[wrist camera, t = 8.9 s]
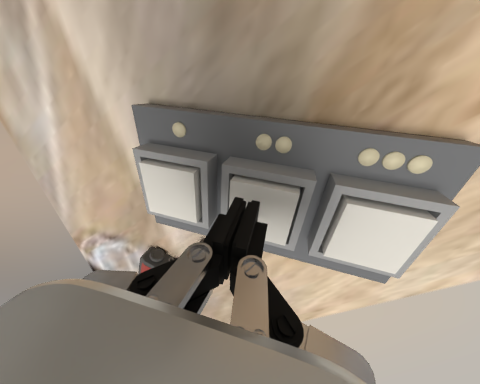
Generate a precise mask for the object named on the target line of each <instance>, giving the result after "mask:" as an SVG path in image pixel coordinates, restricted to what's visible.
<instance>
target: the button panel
mask: <svg viewBox="0 0 480 384" xmlns="http://www.w3.org/2000/svg"><path fill="white" fill-rule="evenodd" d="M132 109H133V114H134V119H135V124H136V128H137V133H138V138H139V143H140V146H138V147H135V148H132V149H133V153H134V157H135V161H136V166H137V170H138V174H139V178H140V183H141V187H142V191H143V196H144V200H145V204H146V208H147V213H149V214H152V215H155V219H156V222H157V223H161V224H165V225H168V226H172V227H176V228H180V229H183V230H187V231H191V232H194V233H198V234H202V235H206V236H207V234H208V232H209V231H210V229H211V227H212V225H213V224H214V222H215V220H216V218H217V217H218V215H219V214H225V215H226V214H227V212H228V210H229V197H230V180H231V179H232V178H233V176H234V175H235V174H237V175H242V176H247V177H253V178H258V179H263V180H269V181H274V182H279V183H285V184H290V185H295V186H300V195H299V199H298V202H297V206H296V209H295V213H294V216H293V220H292V223H291V227H290V230H289V234H288V238H287V241H286V245H285V246H283V245H280V244H276V243H272V242H268V241H265V242H264V248H263V251H265V252H269V253H273V254H276V255H280V256H284V257H288V258H291V259H295V260H299V261H302V262H306V263H310V264H314V265H317V266H321V267H325V268H329V269H332V270H336V271H340V272H343V273H347V274H351V275H355V276H358V277H362V278H366V279H369V280H373V281H377V282H381V283H384V284H385V283H386V282H387V281H388V279H389V278H390V277H395V278H400V277H401V276H402V275H403V273H404V272H405V271H406V270H407V269H408V267H409V266H410V265H411V264H412V263H413V262H414V260H415V259H416V258H417V257H418V256H419V254H420V253H421V252H422V251H423V250H424V249H425V247H426V246H427V245H428V244H429V243H430V242H431V240H432V239H433V238H434V237H435V236H436V234H437V233H438V232H439V231H440V230H441V229H442V227H443V226H444V225H445V224H446V223H447V222H448V220H449V219H450V218H451V217H452V216H453V214H454V213H455V212H456V211H457V210H458V209H459V206H458V205H457V204H455V203H454V202H452V200H453V198H454V197H455V196H456V195H457V193H458V192H459V191H460V190H461V188H462V187H463V186H464V185H465V183H466V182H467V181H468V180H469V178H470V177H471V176H472V175H473V173H474V172H475V171H476V170H477V169H478V167H479V166H480V144H476V143H473V142H469V141H465V140H457V139H448V138H439V137H431V136H422V135H413V134H405V133H396V132H388V131H379V130H370V129H362V128H353V127H345V126H336V125H327V124H319V123H310V122H301V121H293V120H284V119H276V118H267V117H258V116H250V115H241V114H233V113H224V112H215V111H207V110H198V109H189V108H181V107H172V106H164V105H155V104H137V105H132ZM148 158H151V159H156V160H162V161H167V162H173V163H178V164H183V165H189V166H194V167H199V168H200V173H201V197H202V217H201V218H200V220H199V221H198V222H197V223H194V222H190V221H186V220H182V219H178V218H175V217H171V216H167V215H163V214H159V213H155V212H151V211H150V210H149V205H148V201H147V197H146V192H145V188H144V183H143V179H142V174H141V170H140V165H139V162H141V161H143V160H146V159H148ZM342 194H343V195H349V196H354V197H359V198H365V199H370V200H375V201H381V202H386V203H392V204H397V205H402V206H408V207H413V208H418V209H424V210H427V211H428V212H429V213H430V214H431V215H432V216H433V217H434V218H435V219H437V220H438V222H437V224H436V225H435V226H434V227H433V229H432V230H431V231H430V232H429V233H428V235H427V236H426V237H425V238H424V240H423V241H422V242H421V243H420V245H419V246H418V247H417V248H416V249H415V251H414V252H413V253H412V254H411V256H410V257H409V258H408V259H407V260H406V262H405V263H404V264H403V265H402V267H401V268H400V269H399V270H398V272H397V273H396V274H392V273H388V272H384V271H381V270H377V269H373V268H369V267H365V266H361V265H357V264H353V263H349V262H345V261H342V260H338V259H334V258H330V257H326V256H323V250H322V241H323V238H324V236H325V234H326V231H327V229H328V227H329V224H330V222H331V219H332V217H333V215H334V212H335V210H336V208H337V205H338V203H339V201H340V198H341V196H342Z"/></svg>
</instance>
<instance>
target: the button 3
mask: <svg viewBox="0 0 480 384" xmlns="http://www.w3.org/2000/svg"><path fill="white" fill-rule="evenodd" d="M437 222H438V220H437V219H435V218H434V217H433V216H432V215H431V214H430V213H429V212H428V211H427V210H424V209H418V208H413V207H408V206H402V205H397V204H392V203H386V202H381V201H375V200H370V199H365V198H359V197H354V196H349V195H343V194H342V196H341V198H340V201H339V203H338V205H337V208H336V210H335V212H334V215H333V217H332V219H331V222H330V224H329V227H328V229H327V231H326V234H325V236H324V238H323V241H322V250H323V256H326V257H330V258H334V259H338V260H342V261H345V262H349V263H353V264H357V265H361V266H365V267H369V268H373V269H377V270H381V271H384V272H388V273H392V274H396V273H397V272H398V270H399V269H400V268H401V267H402V265H403V264H404V263H405V262H406V260H407V259H408V258H409V257H410V256H411V254H412V253H413V252H414V251H415V249H416V248H417V247H418V246H419V245H420V243H421V242H422V241H423V240H424V238H425V237H426V236H427V235H428V233H429V232H430V231H431V230H432V229H433V227H434V226H435V225H436V224H437Z"/></svg>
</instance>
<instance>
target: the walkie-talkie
mask: <svg viewBox="0 0 480 384" xmlns="http://www.w3.org/2000/svg"><path fill="white" fill-rule="evenodd" d="M201 242H202V241H201ZM199 243H200V242H199ZM202 243H203V242H202ZM174 259H175V258H173V257H171V256H170V255H168V254H166V253H165V252H164V251H163V250H162V249H159V248H155V247H150V249H149V250H148V251H146V252H145V253H144V254H143V255H142V257H141V258H140V265H139V274H140V273H142V272H144V271H146V270H149V269H151V268H154V267H157V266H159V265H162V264H164V263H167V262H169V261H172V260H174Z"/></svg>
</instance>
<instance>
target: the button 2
mask: <svg viewBox="0 0 480 384" xmlns="http://www.w3.org/2000/svg"><path fill="white" fill-rule="evenodd" d="M299 195H300V186H295V185H290V184H285V183H279V182H274V181H269V180H263V179H258V178H253V177H247V176H242V175H237V174H235V175H234V176H233V178H232V179H231V180H230V197H229V208H230V206H231V204H232V202H233V200H234V198H235V197H239V198H243V199H244V201H246V207H247V204H248V202H251V201H252V200H254V201H259V202H260V207H259V214H258V221H257V222H261V223H266V224H268V226H267V231H266V237H265V241H268V242H272V243H276V244H280V245H283V246H285V245H286V241H287V238H288V234H289V230H290V227H291V223H292V220H293V216H294V213H295V209H296V206H297V202H298V199H299Z"/></svg>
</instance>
